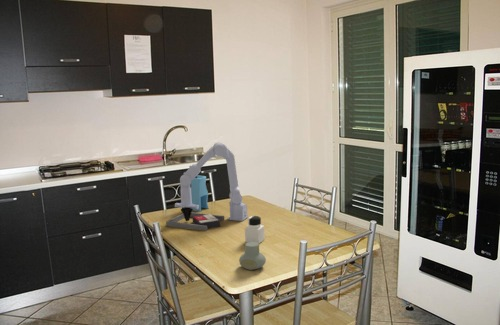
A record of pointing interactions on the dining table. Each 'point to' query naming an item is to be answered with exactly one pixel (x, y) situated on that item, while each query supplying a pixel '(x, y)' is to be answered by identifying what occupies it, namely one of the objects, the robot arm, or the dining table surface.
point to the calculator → (207, 221)
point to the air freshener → (252, 257)
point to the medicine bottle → (254, 230)
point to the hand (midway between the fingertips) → (187, 220)
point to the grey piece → (174, 223)
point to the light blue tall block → (199, 192)
